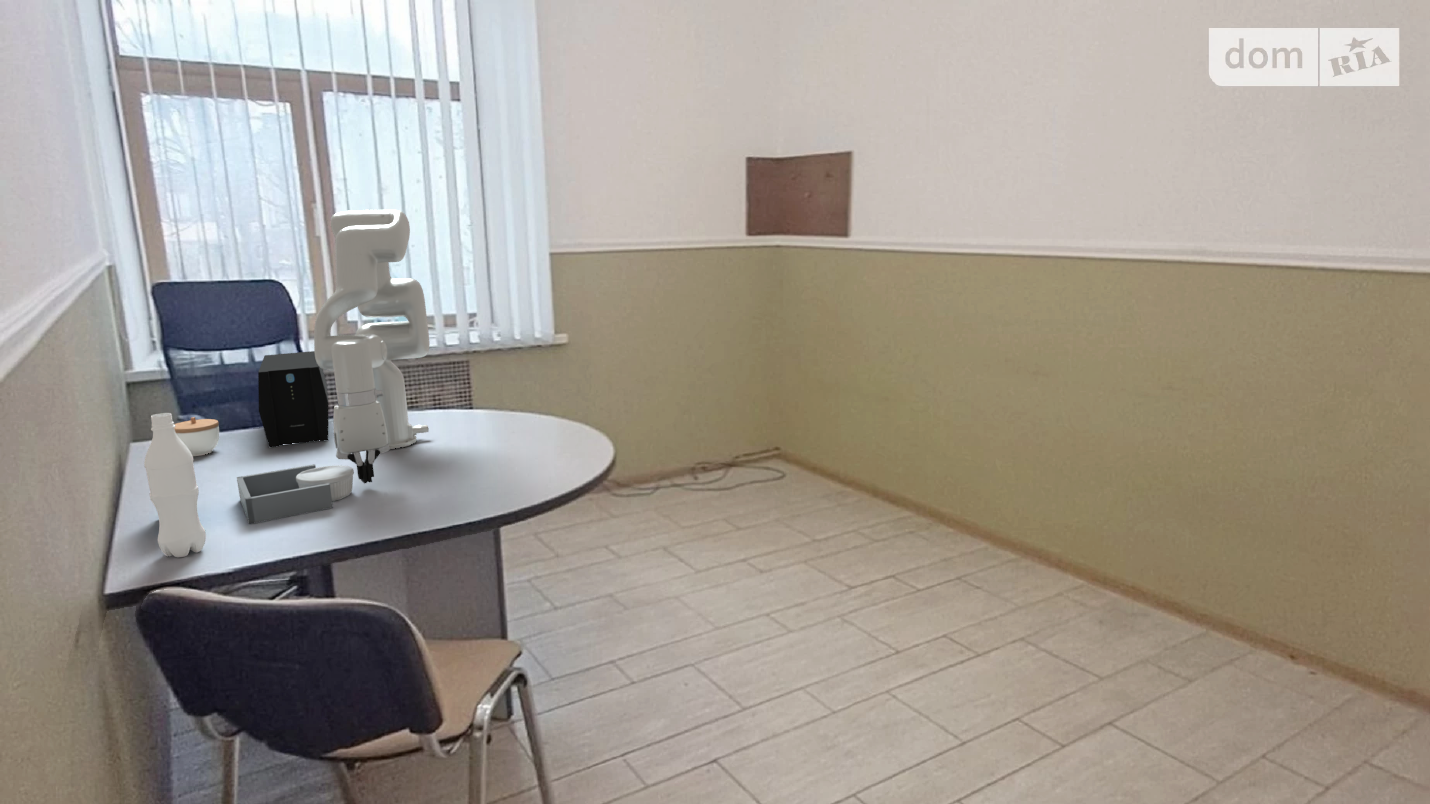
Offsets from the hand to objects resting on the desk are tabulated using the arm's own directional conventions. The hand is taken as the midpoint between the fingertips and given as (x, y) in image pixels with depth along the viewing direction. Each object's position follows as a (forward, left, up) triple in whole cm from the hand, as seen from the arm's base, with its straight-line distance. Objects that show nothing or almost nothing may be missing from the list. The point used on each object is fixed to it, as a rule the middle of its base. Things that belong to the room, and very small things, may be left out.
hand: (366, 481), depth 182 cm
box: (+15, 0, -2) cm, 16 cm away
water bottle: (+34, +18, -2) cm, 39 cm away
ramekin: (+8, 0, -2) cm, 8 cm away
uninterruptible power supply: (+3, -69, -2) cm, 69 cm away
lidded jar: (+28, -59, -2) cm, 66 cm away
